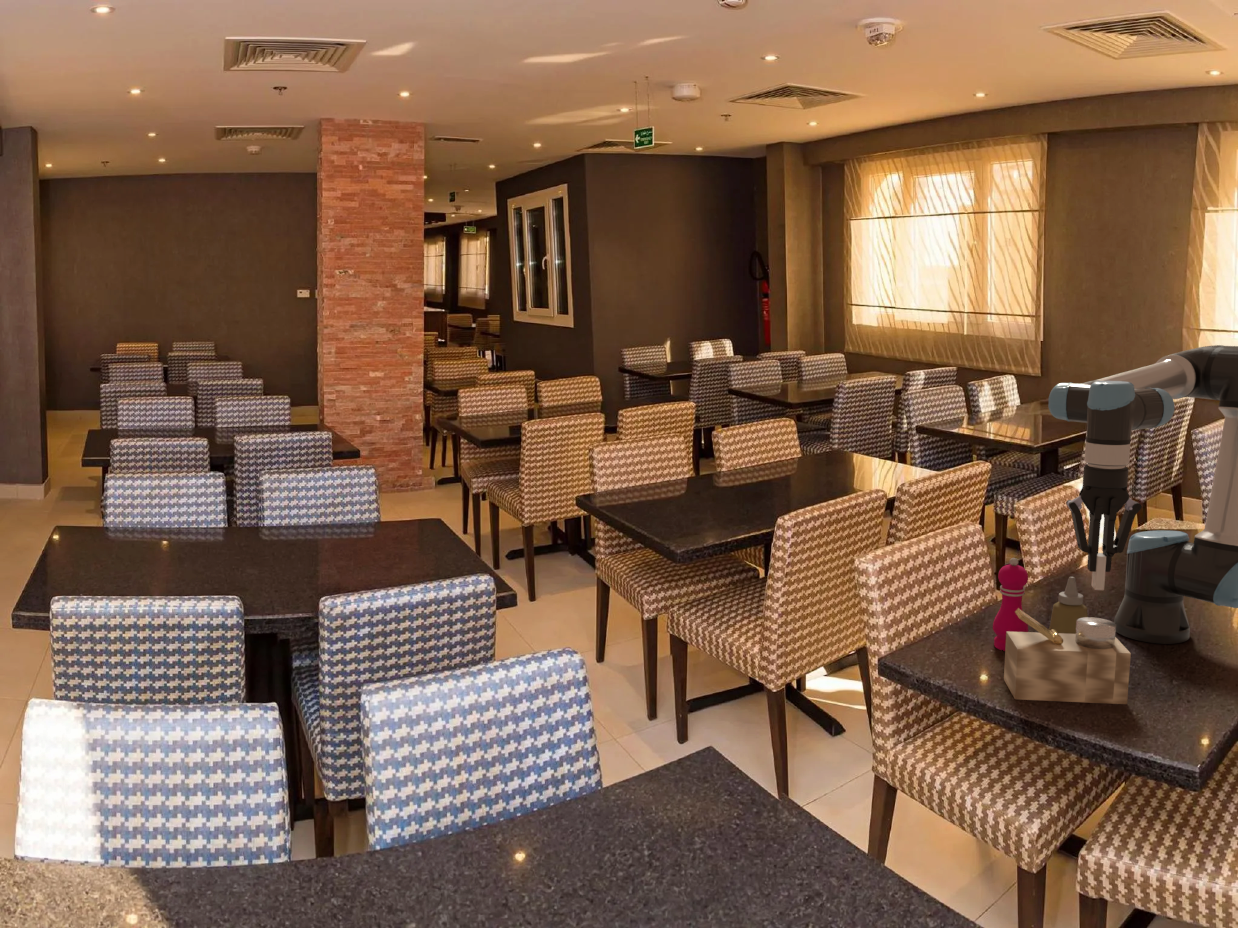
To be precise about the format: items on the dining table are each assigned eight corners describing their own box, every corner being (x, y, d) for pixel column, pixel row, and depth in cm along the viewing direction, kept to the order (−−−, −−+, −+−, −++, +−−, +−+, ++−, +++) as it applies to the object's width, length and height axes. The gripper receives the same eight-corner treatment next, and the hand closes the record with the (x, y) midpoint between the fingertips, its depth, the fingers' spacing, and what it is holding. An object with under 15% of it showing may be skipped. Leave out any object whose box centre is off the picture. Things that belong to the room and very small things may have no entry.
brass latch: (1053, 638, 198) (1058, 632, 198) (1059, 646, 194) (1065, 640, 193) (1014, 611, 198) (1020, 605, 198) (1019, 618, 194) (1025, 612, 194)
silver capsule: (1105, 676, 199) (1109, 617, 197) (1116, 690, 192) (1121, 629, 190) (1068, 675, 200) (1072, 616, 198) (1078, 688, 193) (1082, 628, 191)
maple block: (1110, 683, 201) (1113, 635, 199) (1126, 704, 191) (1130, 653, 189) (1003, 679, 204) (1006, 631, 202) (1014, 699, 194) (1017, 648, 192)
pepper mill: (1030, 653, 217) (1035, 563, 214) (994, 652, 219) (998, 561, 215) (1023, 642, 224) (1028, 554, 221) (989, 640, 226) (993, 552, 222)
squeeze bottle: (1085, 670, 208) (1090, 585, 204) (1042, 663, 212) (1047, 579, 209) (1090, 658, 214) (1096, 575, 211) (1049, 651, 219) (1054, 570, 215)
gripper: (1136, 462, 191) (1127, 583, 195) (1063, 461, 193) (1056, 581, 197) (1151, 469, 184) (1141, 595, 188) (1074, 468, 186) (1066, 592, 190)
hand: (1097, 587), depth 193 cm, fingers closed
